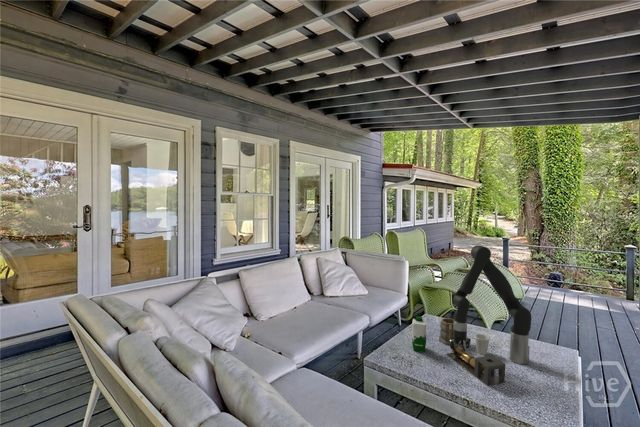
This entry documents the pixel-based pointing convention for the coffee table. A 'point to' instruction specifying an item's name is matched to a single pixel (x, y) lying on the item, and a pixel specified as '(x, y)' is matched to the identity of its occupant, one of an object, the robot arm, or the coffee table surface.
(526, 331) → the robot arm
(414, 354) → the coffee table surface
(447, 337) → the tankard
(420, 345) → the milk carton
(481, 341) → the dixie cup
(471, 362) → the tube
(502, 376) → the dark grey holder
